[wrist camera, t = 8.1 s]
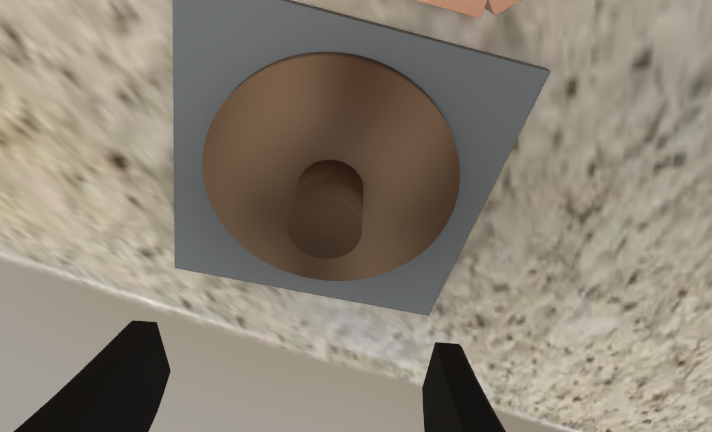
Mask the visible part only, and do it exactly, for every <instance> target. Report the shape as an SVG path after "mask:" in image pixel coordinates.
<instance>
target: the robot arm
mask: <svg viewBox="0 0 712 432" xmlns="http://www.w3.org/2000/svg"><path fill="white" fill-rule="evenodd" d="M169 374H170V367H169V364H168V360H167V357H166V353H165V350H164V346H163V343H162V340H161V336H160V333H159V329H158V326H157V322H146V321H132V322H130V323H129V324H128V325H127V326H126V327H125V328H124V329H123V330H122V331H121V332H120V333H119V334H118V335H117V336H116V337H115V338H114V339H113V340H112V341H111V342H110V343H109V344H108V345H107V346H106V347H105V348H104V349H103V350H102V351H101V352H100V353H99V354H98V355H97V356H96V357H95V358H94V359H93V360H92V361H91V362H90V363H88V365H86V366H85V367H84V369H82V370H81V371H80V372H79V373H78V374H77V375H76V376H75V377H74V378H73V379H72V380H71V381H70V382H68V383H67V385H65V386H64V387H63V388H62V389H61V390H60V391H59V392H58V393H57V394H56V395H55V396H54V397H52V399H50V400H49V401H48V402H47V403H46V404H45V405H44V406H42V407H41V408H40V409H39V410H38V411H37V412H36V413H34V414H33V415H32V416H31V417H30V418H29V419H28V420H27V421H25V422H24V423H23V424H22V425H21V426H20V427H18V428H17V429H16V430H15V431H14V432H148V431H149V429H150V427H151V425H152V422H153V420H154V418H155V416H156V413H157V411H158V408H159V405H160V402H161V399H162V396H163V393H164V390H165V387H166V384H167V380H168V377H169ZM422 390H423V413H424V429H425V432H506V431H505V430H504V428H503V426H502V425H501V423H500V421H499V419H498V417H497V416H496V414H495V412H494V410H493V409H492V407H491V405H490V403H489V401H488V399H487V398H486V396H485V394H484V392H483V390H482V388H481V386H480V384H479V382H478V380H477V378H476V376H475V374H474V372H473V370H472V368H471V366H470V364H469V362H468V360H467V358H466V355H465V353H464V351H463V349H462V347H461V346H460V345H459V344H451V343H437V342H435V346H434V349H433V353H432V356H431V360H430V363H429V367H428V370H427V374H426V377H425V381H424V384H423V388H422Z"/></svg>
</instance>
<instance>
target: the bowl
mask: <svg viewBox="0 0 712 432" xmlns="http://www.w3.org/2000/svg"><path fill="white" fill-rule="evenodd" d="M416 1H420V2H423V3H427V4H431V5H434V6H438V7H442V8H445V9H449V10H452V11H456V12H460V13H463V14H467V15H471V16H474V17H478V18H481V15H482V12H483V10H484V7H485V8H486V9H487V10H488V11H490V12H491V13H492V14H493V15H494V16H495V15H497V14H499V13H500V12H502V11H504V10H506V9H507V8H509V7H511V6H512V5H514V4H516V3H517V2H519V1H521V0H416Z"/></svg>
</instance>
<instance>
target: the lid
mask: <svg viewBox="0 0 712 432" xmlns="http://www.w3.org/2000/svg"><path fill="white" fill-rule="evenodd" d="M202 168H203V179H204V184H205V188H206V192H207V195H208V198H209V200H210V203H211V205H212V208H213V209H214V211H215V213H216V215H217V217H218V218H219V220H220V221H221V223H222V224H223V226H224V227H225V228H226V230H227V231H228V232H229V233H230V234H231V235H232V236H233V237H234V239H235V240H236V241H237V242H238V243H239V244H241V245H242V246H243V247H244V248H245V249H246V250H248V251H249V252H250V253H252V254H253V255H255V256H256V257H258V258H259V259H261V260H262V261H264V262H266V263H268V264H270V265H272V266H273V267H276V268H278V269H281V270H283V271H285V272H288V273H291V274H294V275H298V276H301V277H306V278H311V279H317V280H325V281H350V280H359V279H365V278H370V277H374V276H377V275H381V274H384V273H387V272H389V271H392V270H394V269H397V268H399V267H400V266H402V265H404V264H406V263H408V262H410V261H411V260H413V259H414V258H415V257H417V256H418V255H420V254H421V253H422V252H423V251H424V250H426V249H427V248H428V247H429V246H430V245H431V244H432V243H433V242H434V241H435V239H436V238H437V237H438V236H439V235H440V233H441V232H442V230H443V229H444V228H445V226H446V225H447V223H448V221H449V219H450V217H451V215H452V213H453V210H454V207H455V204H456V201H457V198H458V192H459V186H460V165H459V158H458V152H457V149H456V146H455V143H454V140H453V137H452V134H451V131H450V128H449V126H448V124H447V122H446V120H445V118H444V116H443V114H442V113H441V111H440V110H439V109H438V107H437V106H436V104H435V103H434V101H433V100H432V99H431V98H430V97H429V96H428V95H427V94H426V93H425V91H424V90H423V89H422V88H421V87H419V86H418V85H417V84H416V83H414V82H413V81H412V80H411V79H410V78H408V77H407V76H405V75H404V74H402V73H400V72H399V71H397V70H395V69H394V68H392V67H390V66H388V65H385V64H383V63H381V62H378V61H376V60H373V59H370V58H366V57H363V56H359V55H355V54H348V53H341V52H312V53H305V54H298V55H294V56H291V57H287V58H284V59H280V60H278V61H276V62H274V63H271V64H269V65H267V66H265V67H263V68H261V69H260V70H258V71H257V72H255V73H253V74H252V75H250V76H249V77H248V78H247V79H245V80H244V81H243V82H242V83H241V84H240V85H239V86H237V87H236V89H235V90H234V91H233V92H232V93H231V94H230V96H229V97H228V98H227V99H226V100H225V102H224V103H223V104H222V106H221V107H220V109H219V110H218V112H217V114H216V115H215V117H214V119H213V120H212V122H211V125H210V128H209V130H208V133H207V135H206V139H205V144H204V148H203V160H202Z"/></svg>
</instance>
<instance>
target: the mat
mask: <svg viewBox="0 0 712 432" xmlns="http://www.w3.org/2000/svg"><path fill="white" fill-rule="evenodd" d="M312 52H341V53H348V54H355V55H359V56H363V57H366V58H370V59H373V60H376V61H378V62H381V63H383V64H385V65H388V66H390V67H392V68H394V69H395V70H397V71H399V72H400V73H402V74H404V75H405V76H407V77H408V78H410V79H411V80H412V81H413V82H414V83H416V84H417V85H418V86H419V87H421V88H422V89H423V90H424V91H425V93H426V94H427V95H428V96H429V97H430V98H431V99H432V100H433V101H434V103H435V104H436V106H437V107H438V109H439V110H440V111H441V113H442V114H443V116H444V118H445V120H446V122H447V124H448V126H449V128H450V131H451V134H452V137H453V140H454V143H455V146H456V149H457V152H458V158H459V165H460V186H459V192H458V198H457V201H456V204H455V207H454V210H453V213H452V215H451V217H450V219H449V221H448V223H447V225H446V226H445V228H444V229H443V230H442V232H441V233H440V235H439V236H438V237H437V238H436V239H435V241H434V242H433V243H432V244H431V245H430V246H429V247H428V248H427V249H426V250H424V251H423V252H422V253H421V254H420V255H418V256H417V257H415V258H414V259H413V260H411V261H410V262H408V263H406V264H404V265H402V266H400V267H399V268H397V269H394V270H392V271H389V272H387V273H384V274H381V275H377V276H374V277H370V278H365V279H359V280H350V281H325V280H317V279H311V278H306V277H301V276H298V275H294V274H291V273H288V272H285V271H283V270H281V269H278V268H276V267H273V266H272V265H270V264H268V263H266V262H264V261H262V260H261V259H259V258H258V257H256V256H255V255H253V254H252V253H250V252H249V251H248V250H246V249H245V248H244V247H243V246H242V245H241V244H239V243H238V242H237V241H236V240H235V239H234V237H233V236H232V235H231V234H230V233H229V232H228V231H227V230H226V228H225V227H224V226H223V224H222V223H221V221H220V220H219V218H218V217H217V215H216V213H215V211H214V209H213V208H212V205H211V203H210V200H209V198H208V195H207V192H206V188H205V184H204V179H203V168H202V160H203V148H204V144H205V139H206V135H207V133H208V130H209V128H210V125H211V122H212V120H213V119H214V117H215V115H216V114H217V112H218V110H219V109H220V107H221V106H222V104H223V103H224V102H225V100H226V99H227V98H228V97H229V96H230V94H231V93H232V92H233V91H234V90H235V89H236V87H237V86H239V85H240V84H241V83H242V82H243V81H244V80H245V79H247V78H248V77H249V76H250V75H252V74H253V73H255V72H257V71H258V70H260V69H261V68H263V67H265V66H267V65H269V64H271V63H274V62H276V61H278V60H280V59H284V58H287V57H291V56H294V55H298V54H305V53H312ZM549 74H550V71H549V70H548V69H546V68H542V67H539V66H535V65H531V64H527V63H524V62H520V61H516V60H512V59H509V58H505V57H501V56H497V55H493V54H490V53H486V52H482V51H478V50H475V49H471V48H467V47H463V46H460V45H456V44H452V43H448V42H445V41H441V40H437V39H433V38H429V37H426V36H422V35H418V34H414V33H411V32H407V31H403V30H399V29H396V28H392V27H388V26H384V25H381V24H377V23H373V22H369V21H365V20H362V19H358V18H354V17H350V16H347V15H343V14H339V13H335V12H332V11H328V10H324V9H320V8H317V7H313V6H309V5H305V4H301V3H298V2H294V1H290V0H173V91H174V216H175V268H178V269H183V270H188V271H194V272H199V273H204V274H210V275H215V276H220V277H226V278H231V279H236V280H241V281H247V282H252V283H257V284H263V285H268V286H273V287H279V288H284V289H289V290H295V291H300V292H305V293H310V294H316V295H321V296H326V297H332V298H337V299H342V300H348V301H353V302H358V303H364V304H369V305H374V306H379V307H385V308H390V309H395V310H401V311H406V312H411V313H417V314H422V315H427V316H429V314H430V312H431V310H432V308H433V306H434V304H435V302H436V300H437V298H438V296H439V294H440V292H441V290H442V288H443V286H444V284H445V282H446V280H447V278H448V276H449V274H450V272H451V270H452V268H453V266H454V264H455V262H456V260H457V258H458V256H459V254H460V252H461V250H462V248H463V246H464V244H465V242H466V240H467V238H468V236H469V234H470V232H471V230H472V228H473V226H474V224H475V222H476V220H477V218H478V216H479V214H480V212H481V210H482V208H483V206H484V204H485V202H486V200H487V198H488V196H489V194H490V192H491V190H492V188H493V186H494V184H495V182H496V180H497V178H498V176H499V174H500V172H501V170H502V168H503V166H504V164H505V162H506V160H507V158H508V156H509V154H510V152H511V150H512V148H513V146H514V144H515V142H516V140H517V138H518V136H519V134H520V132H521V130H522V128H523V126H524V124H525V122H526V120H527V118H528V116H529V114H530V112H531V110H532V108H533V106H534V104H535V102H536V100H537V98H538V96H539V94H540V92H541V90H542V88H543V86H544V84H545V82H546V80H547V78H548V76H549Z"/></svg>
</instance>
